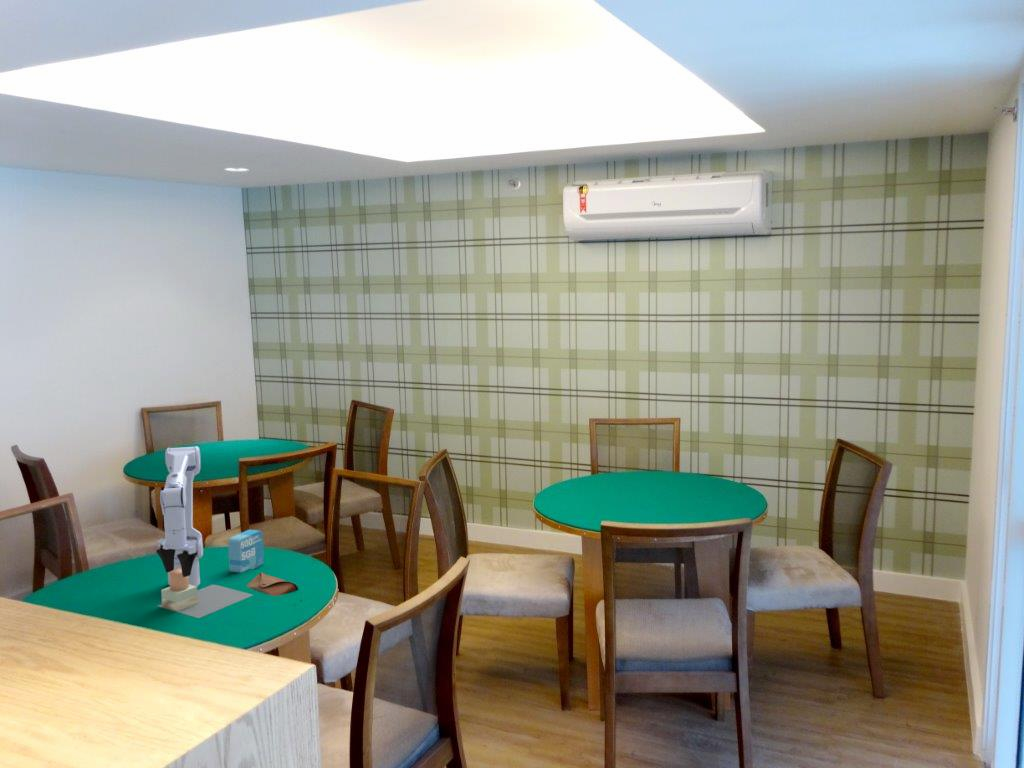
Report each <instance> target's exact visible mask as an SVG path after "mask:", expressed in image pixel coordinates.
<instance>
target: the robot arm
mask: <svg viewBox="0 0 1024 768" xmlns="http://www.w3.org/2000/svg"><path fill="white" fill-rule="evenodd" d="M164 459H165V461H164V462H165V465H166V466H165V467H166V468H167V472H168V473H169V474H168V475H167V476H166V480H165V484H164V488H163V490H160V495H159V502H160V506H161V512H162V516H163V522H164V523H163V525H164V537H165V538H160V539H158V540H157V539H156V540H157V547H158V549H156V551H155V552H156V554H157V555H158V556H159V558H160V560H161V561H162V564H163V568H164V571H165V572H166V573H167V581H168V582H167V583H168V586H170V576H169V572H170V571H172V570H175V569H182V575H183V577H187V576H188V583H189V584H190V585H193V586H197V587H199V585H200V584H201V577H200V575H201V574H200V561H199V559H201V558H202V557H203V555H204V543H203V542H204V541H203V535H202V533H201V532H200V531H199V530H197V528H194V520H193V519H194V517H193V515H194V513H193V510H194V503H193V501H194V499H193V498H194V497H193V496H194V495H193V493H194V491H193V490H194V487H193V485H194V484H193V483H194V478H195V476H197V475H198V474H200V471H201V450H200V447H199V446H197V445H195V446H185V447H184V446H183V447H181V446H180V447H167V449H165V456H164Z"/></svg>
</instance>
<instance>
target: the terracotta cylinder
mask: <svg viewBox="0 0 1024 768" xmlns="http://www.w3.org/2000/svg"><path fill="white" fill-rule="evenodd" d="M169 576H170V585H169V587H170V590H171V591H182V590H185V589H187V588H188V587H189V583H188V576H187V577H183V575H182V569H175V570H172V571H170V572H169Z"/></svg>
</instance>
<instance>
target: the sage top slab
mask: <svg viewBox="0 0 1024 768" xmlns="http://www.w3.org/2000/svg"><path fill="white" fill-rule="evenodd" d="M160 590H161V591H160V592H161V593H160V594H161V599H162V598H163V599H166V600H170V601H173V602H177V603H178V602H180V601H183V600H185V599H188V598H191V597H193V596H196V595H198V592H197V590H198V586H193V585H190V584H189V587H188V588H187V589H185V590H182V591H171V590H170V586H168V587H165V588H162V589H160Z"/></svg>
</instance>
